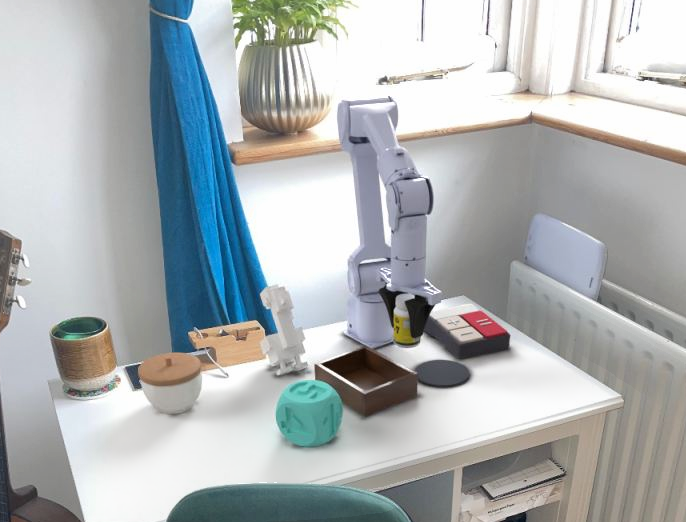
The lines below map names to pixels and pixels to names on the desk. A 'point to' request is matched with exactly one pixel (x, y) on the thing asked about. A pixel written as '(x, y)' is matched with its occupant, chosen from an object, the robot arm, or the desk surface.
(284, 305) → the voxel character
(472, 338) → the calculator
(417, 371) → the coaster
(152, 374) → the trinket box
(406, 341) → the supplement bottle
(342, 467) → the desk surface
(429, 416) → the desk surface
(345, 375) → the box
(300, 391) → the decorative dice
